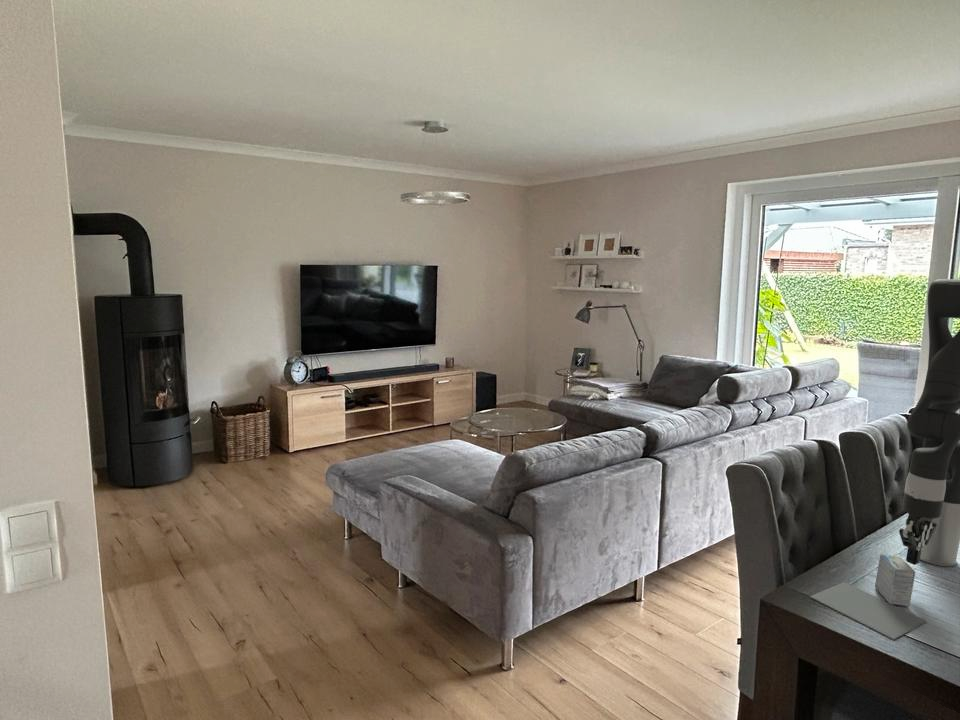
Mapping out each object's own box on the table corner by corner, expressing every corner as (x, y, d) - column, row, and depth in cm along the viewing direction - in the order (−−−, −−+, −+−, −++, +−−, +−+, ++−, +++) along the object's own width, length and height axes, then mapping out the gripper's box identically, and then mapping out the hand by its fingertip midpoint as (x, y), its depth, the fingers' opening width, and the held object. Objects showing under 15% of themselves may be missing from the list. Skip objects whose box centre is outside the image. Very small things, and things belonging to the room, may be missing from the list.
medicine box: (909, 607, 140) (916, 571, 139) (888, 604, 141) (894, 568, 140) (894, 590, 148) (900, 556, 147) (873, 587, 149) (880, 553, 147)
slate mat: (843, 583, 150) (844, 581, 150) (927, 621, 135) (927, 620, 135) (810, 597, 143) (810, 596, 143) (893, 640, 128) (893, 638, 128)
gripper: (920, 483, 151) (909, 550, 154) (892, 492, 144) (880, 561, 147) (956, 494, 144) (943, 563, 147) (928, 504, 138) (915, 576, 141)
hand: (912, 562), depth 147 cm, fingers closed
